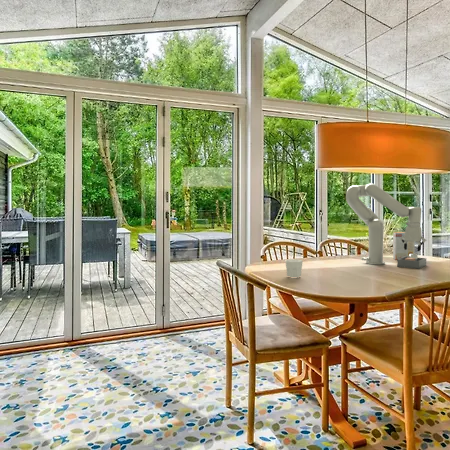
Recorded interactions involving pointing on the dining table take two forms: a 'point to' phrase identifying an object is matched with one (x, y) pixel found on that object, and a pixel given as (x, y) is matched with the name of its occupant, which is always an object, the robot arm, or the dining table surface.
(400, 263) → the tote
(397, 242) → the cracker box
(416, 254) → the metal cylinder
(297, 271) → the cup
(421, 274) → the dining table surface
